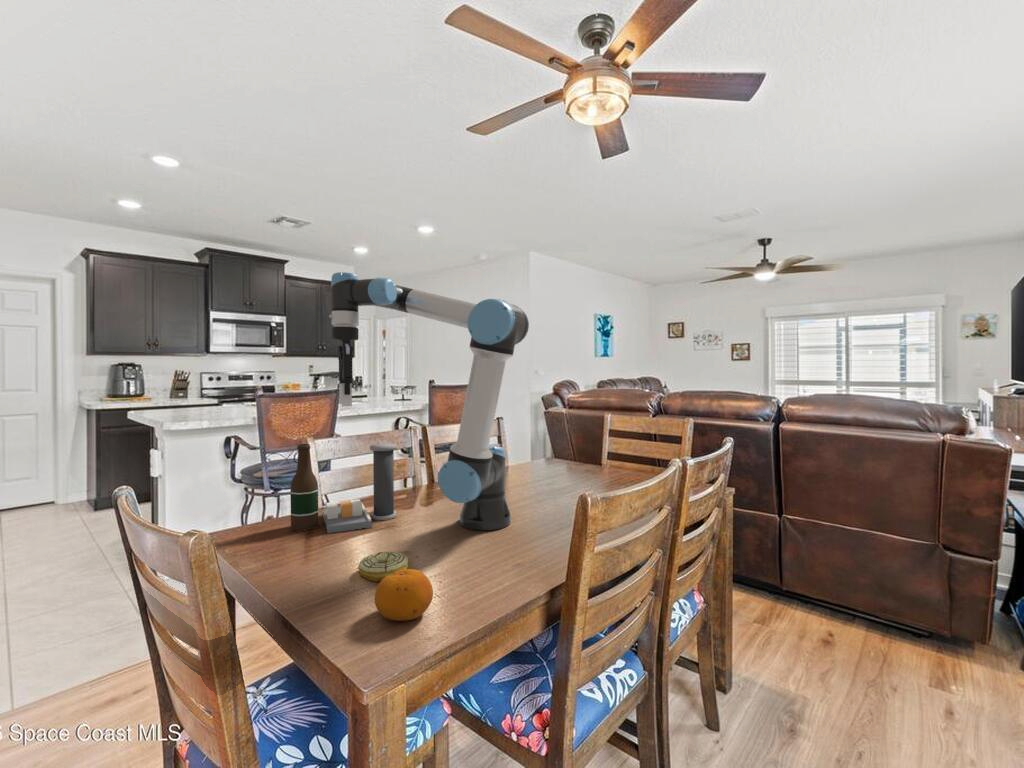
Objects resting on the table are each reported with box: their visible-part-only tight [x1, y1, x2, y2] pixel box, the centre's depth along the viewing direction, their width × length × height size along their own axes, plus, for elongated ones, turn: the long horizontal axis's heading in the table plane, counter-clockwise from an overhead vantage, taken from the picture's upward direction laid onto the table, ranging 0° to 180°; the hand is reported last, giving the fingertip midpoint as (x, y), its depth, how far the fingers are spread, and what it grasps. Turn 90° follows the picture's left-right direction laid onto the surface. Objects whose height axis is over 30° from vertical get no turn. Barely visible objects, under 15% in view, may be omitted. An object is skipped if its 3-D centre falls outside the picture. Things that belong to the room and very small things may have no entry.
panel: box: [322, 502, 373, 534], centre depth 144 cm, size 18×12×3 cm, turn 25°
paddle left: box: [325, 501, 339, 519], centre depth 142 cm, size 5×3×4 cm, turn 25°
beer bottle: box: [290, 443, 319, 532], centre depth 138 cm, size 8×8×24 cm
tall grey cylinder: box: [369, 443, 398, 522], centre depth 149 cm, size 8×8×22 cm
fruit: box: [374, 568, 434, 622], centre depth 90 cm, size 10×10×8 cm
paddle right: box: [350, 498, 363, 516], centre depth 145 cm, size 5×3×4 cm, turn 25°
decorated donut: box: [357, 551, 409, 582], centre depth 109 cm, size 10×11×4 cm
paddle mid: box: [339, 499, 352, 518], centre depth 144 cm, size 5×3×4 cm, turn 25°
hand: (345, 404), depth 143 cm, fingers open, 6 cm apart
